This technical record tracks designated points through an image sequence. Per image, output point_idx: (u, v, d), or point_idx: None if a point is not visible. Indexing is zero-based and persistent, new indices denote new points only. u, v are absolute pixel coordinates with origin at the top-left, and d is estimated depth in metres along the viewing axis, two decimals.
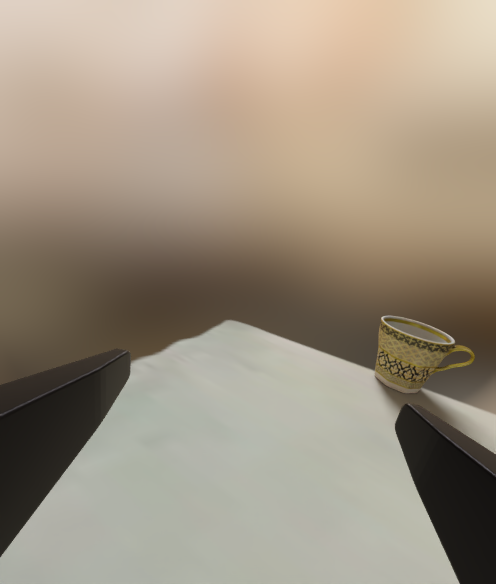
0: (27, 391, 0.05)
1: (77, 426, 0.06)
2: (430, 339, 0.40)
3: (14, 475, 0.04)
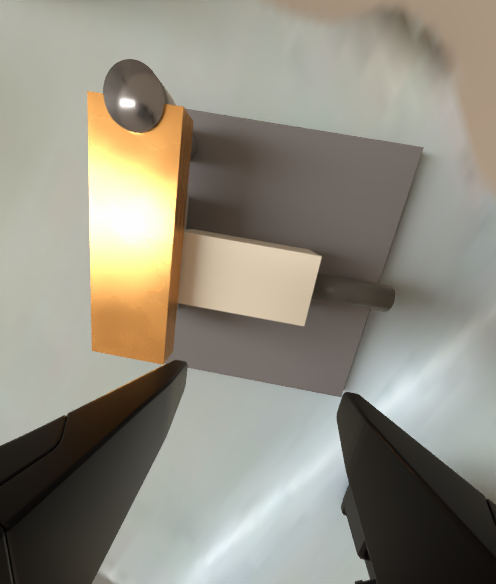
0: (118, 409, 0.05)
1: (152, 441, 0.06)
2: None
3: (110, 495, 0.04)
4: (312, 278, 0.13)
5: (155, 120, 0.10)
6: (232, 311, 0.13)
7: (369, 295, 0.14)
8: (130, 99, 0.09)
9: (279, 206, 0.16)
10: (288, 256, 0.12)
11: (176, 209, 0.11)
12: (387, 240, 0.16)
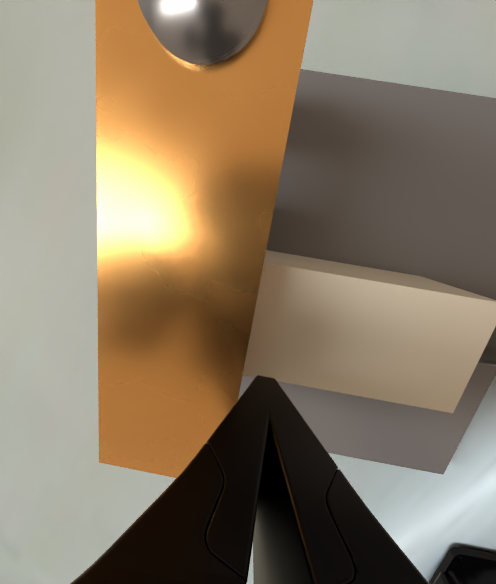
0: (249, 434, 0.05)
1: None
2: None
3: None
4: (481, 339, 0.07)
5: (247, 33, 0.04)
6: (333, 388, 0.08)
7: None
8: None
9: (381, 213, 0.10)
10: (444, 303, 0.07)
11: None
12: None
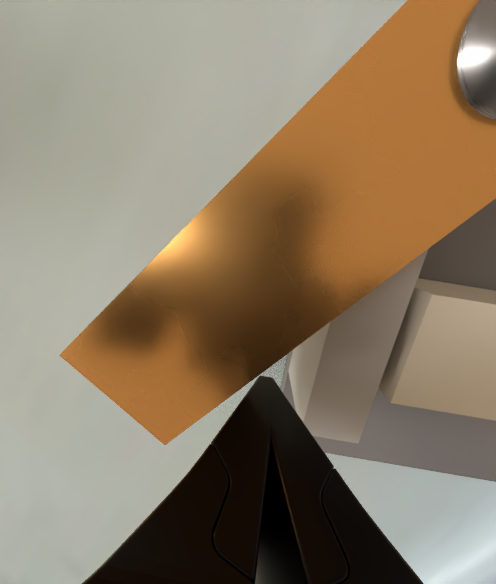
0: (253, 435, 0.05)
1: None
2: None
3: None
4: None
5: None
6: None
7: None
8: None
9: None
10: None
11: (395, 270, 0.06)
12: None
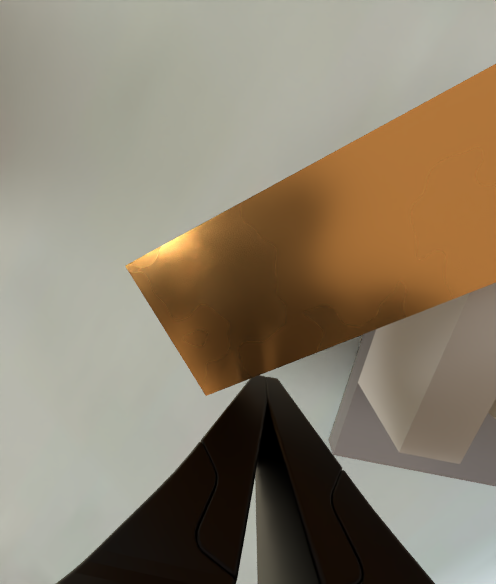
0: (243, 433, 0.05)
1: None
2: None
3: None
4: None
5: None
6: None
7: None
8: None
9: None
10: None
11: None
12: None
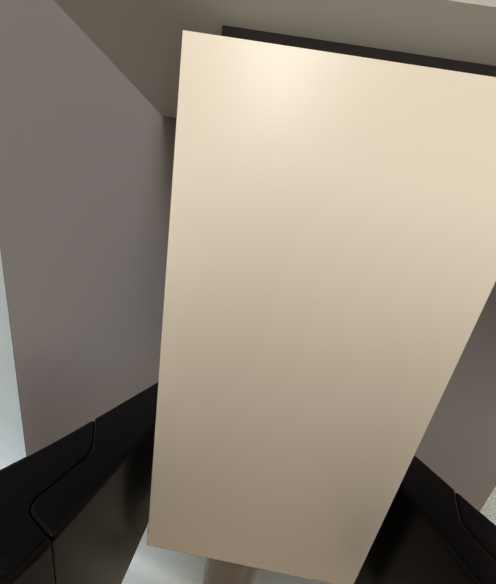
0: (143, 414, 0.05)
1: None
2: None
3: (137, 500, 0.04)
4: (290, 567, 0.04)
5: None
6: (166, 361, 0.03)
7: None
8: None
9: None
10: (361, 524, 0.04)
11: None
12: None
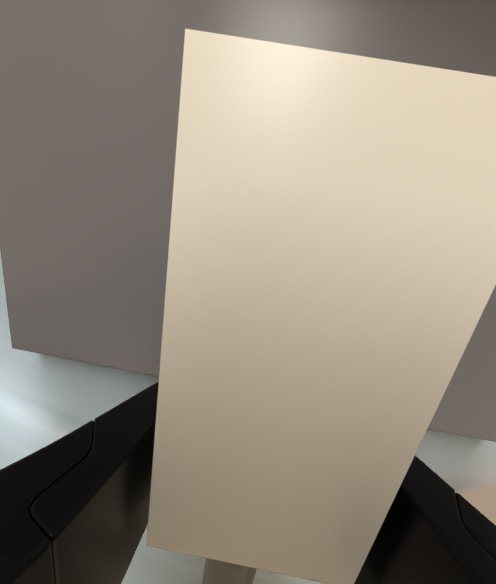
0: (143, 414, 0.05)
1: None
2: None
3: (137, 500, 0.04)
4: (289, 568, 0.04)
5: None
6: (166, 360, 0.03)
7: None
8: None
9: None
10: (361, 525, 0.04)
11: None
12: None
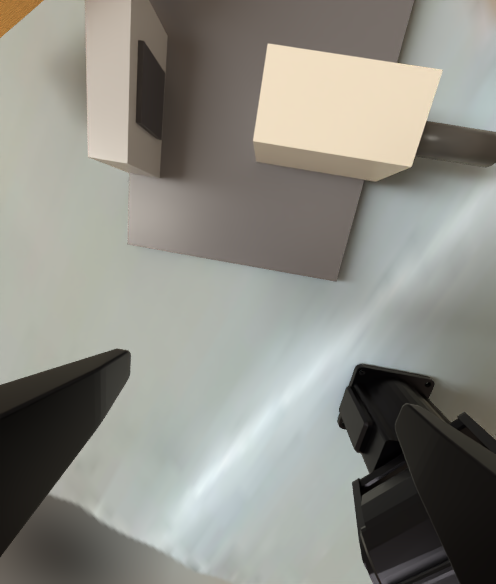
0: (27, 391, 0.05)
1: (77, 426, 0.06)
2: None
3: (14, 475, 0.04)
4: (428, 101, 0.11)
5: None
6: (329, 151, 0.12)
7: (481, 138, 0.12)
8: None
9: (266, 43, 0.14)
10: (403, 72, 0.11)
11: None
12: None
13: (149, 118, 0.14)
